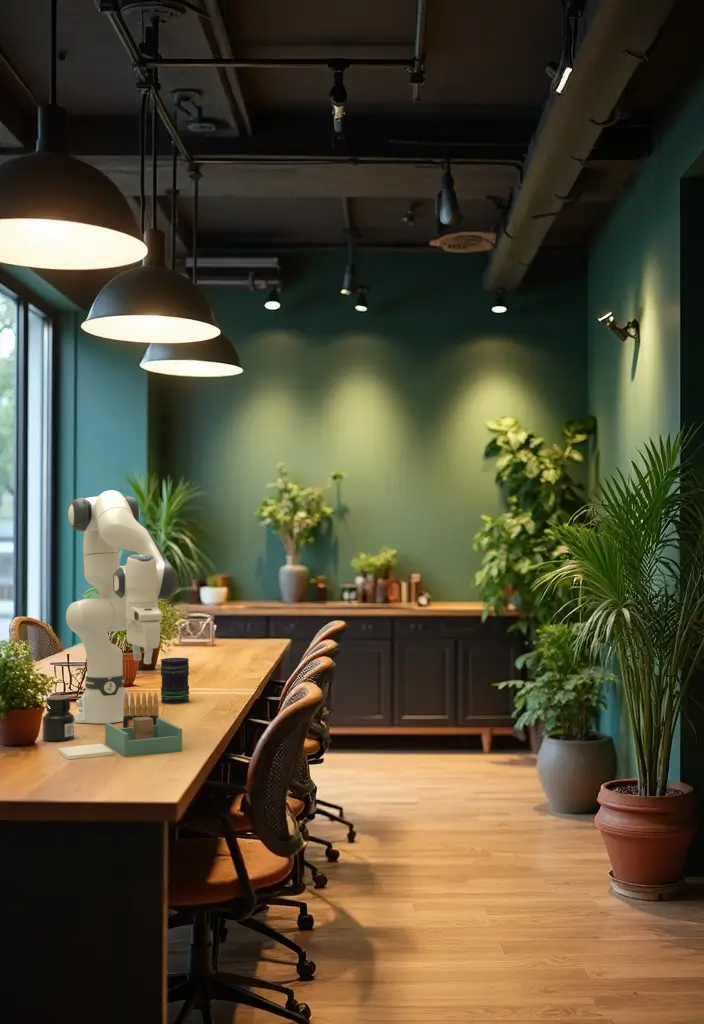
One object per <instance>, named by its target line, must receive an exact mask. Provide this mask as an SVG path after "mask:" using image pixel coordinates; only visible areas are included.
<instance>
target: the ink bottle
mask: <svg viewBox="0 0 704 1024" xmlns="http://www.w3.org/2000/svg"><path fill="white" fill-rule="evenodd" d="M45 702H46V703H47V704H48V705H49V706H50V708H51V709H49V708H47V709H46V713H45V714H44V716H43V717H42V740H43V741H46V742H65V741H71V740H72V739H74V738H75V719H74V714H73V713H72V712H70V710H71V697H70V696H66V695H57V696H48V697H45ZM46 703H45V704H46Z"/></svg>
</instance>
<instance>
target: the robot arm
mask: <svg viewBox="0 0 704 1024" xmlns="http://www.w3.org/2000/svg"><path fill="white" fill-rule="evenodd" d="M67 513H68V515H67V516H68V521H69V523H70V527H72V529H74V530H75V531H77V532H84V534H83V544H82V545H83V546H82V549H83V551H82V552H83V557H82V558H83V571H84V579H85V581H86V582H87V583H88V584H90V585H91V586H92V587H94V588H96V590H97V591H98V593H99V596H100V597H95V598H94V597H91V598H83V599H79V600H77V601H74V602H71V604H69V606H68V607H67V610H66V614H65V620H66V624H67V626H68V628H69V629H70V631H72V632H73V633H75V634H76V635H77V636H78V638H79V639H80V641H81V643H82V644H83V646H84V650H85V656H86V657H85V658H86V675H87V676H85V681H84V683H85V685H84V687H85V690H84V691H83V693H82V695H81V698H79V699H76V701H75V705H76V706H75V707H76V708H79V709H78V711H77V712H76V711H75V712H74V713H73V716H74V723H76V724H77V723H78V724H79V723H80V724H82V723H83V724H105V723H107V722H109V723H110V724H112V723H114V724H115V723H120V722H123V716H124V697H125V693H127V695H128V705H129V715H130V694H129V691H127V690H126V688H124V686H125V682H126V681H125V675H124V674H123V673H124V671H123V670H124V669H123V668H124V667H123V665H124V663H123V657H124V656H123V652H122V649H121V648H120V647H119V646H118V645H116V644H114V643H112V642H111V640H110V638H109V634H108V633H109V632H119V631H120V632H121V631H126V636H125V637H126V642H127V643H128V644H131V648H132V653H133V660H134V661H135V662H137V661H138V662H139V661H142V653H141V648H143V652H144V657H143V664H145V665H151V664H152V657H153V653H154V649H158V648H159V646H160V641H161V622H160V621H162V620H163V614H162V612H161V610H160V609H159V600H169V599H170V598H172V597H173V596H174V595H175V593H177V592H178V590H179V586H180V585H179V584H180V580H179V575H178V572H177V570H176V569H175V568H174V567H173V565H171V563H170V562H169V560H168V558H167V557H166V556H165V554H164V552H163V550H162V548H161V546H160V545H159V543H158V542H157V539H156V537H155V536H154V535H153V533H152V532H151V531H150V530H149V529H147V528H146V527H144V526H142V524H140V523H139V520H140V515H141V509H140V506H139V502H138V501H137V499H136V498H135V497H133V496H129V495H123V494H122V493H121V492H120V491H117V490H114V489H113V490H106V491H103V492H101V493H100V494H99V495H98V496H91V497H86V498H85V497H77V498H76V499H73V500H72V502H71V503H70V505H69V507H68V512H67ZM119 549H120V550H125V551H131V552H134V554H131V555H129V556H127V559H126V564H125V565H124V566H120V565H121V564H120V556H119V555H120V554H119Z"/></svg>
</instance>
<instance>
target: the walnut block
mask: <svg viewBox="0 0 704 1024" xmlns="http://www.w3.org/2000/svg"><path fill="white" fill-rule="evenodd" d="M150 738H153V719H152V718H150V717H140V718H133V740H140V739H150Z"/></svg>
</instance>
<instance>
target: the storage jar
mask: <svg viewBox="0 0 704 1024" xmlns="http://www.w3.org/2000/svg"><path fill="white" fill-rule="evenodd" d="M189 662H190V661H189V658H187V657H168V658H167V657H166V658H162V659H161V658H160V676H161V687H160V696H161V697H160V699H161V701H160V702H161V704H164V705H181V704H182V705H183V704H187V703H189V702H190V699H189V698H190V686H189V675H190V666H189V665H190V664H189Z"/></svg>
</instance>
